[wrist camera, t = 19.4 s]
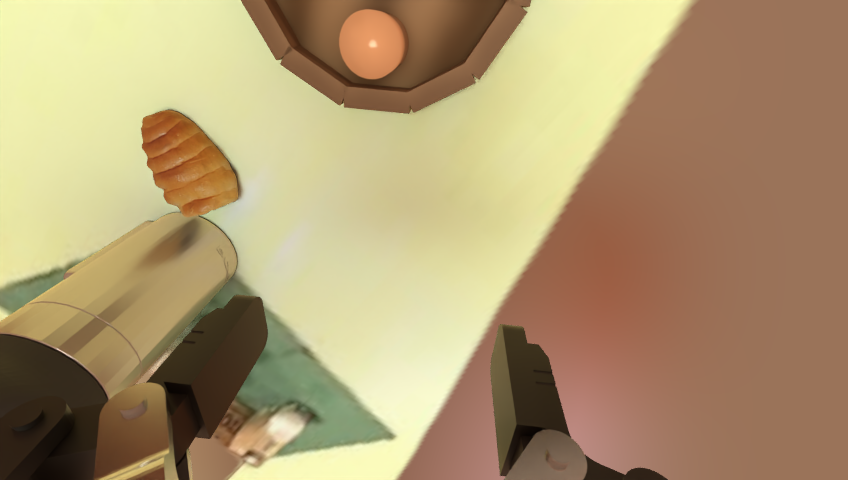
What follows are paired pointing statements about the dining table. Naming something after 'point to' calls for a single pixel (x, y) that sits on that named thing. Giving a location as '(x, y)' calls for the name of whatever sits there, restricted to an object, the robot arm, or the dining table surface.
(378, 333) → the dining table surface
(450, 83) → the tray
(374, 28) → the bead
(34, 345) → the robot arm
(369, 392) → the dining table surface
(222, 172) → the pastry
